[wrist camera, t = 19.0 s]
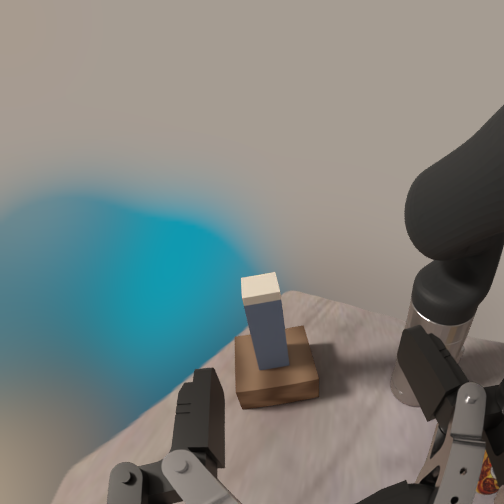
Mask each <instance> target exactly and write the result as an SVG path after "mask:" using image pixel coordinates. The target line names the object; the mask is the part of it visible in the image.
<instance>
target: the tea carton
mask: <svg viewBox="0 0 504 504" xmlns="http://www.w3.org/2000/svg"><path fill="white" fill-rule="evenodd" d="M241 284H242V285H241V286H242V299H243V304H244V308H245V312H246V316H247V321H248V325H249V330H250V334H251V338H252V342H253V346H254V351H255V355H256V359H257V363H258V367H259V370H266V369H272V368H277V367H283V366H289V357H288V349H287V341H286V333H285V325H284V318H283V310H282V302H281V295H280V290H279V286H278V282H277V278H276V274H275V272H273V273H267V274H262V275H256V276H250V277H245V278H241Z"/></svg>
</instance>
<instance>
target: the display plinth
mask: <svg viewBox="0 0 504 504" xmlns="http://www.w3.org/2000/svg"><path fill="white" fill-rule="evenodd" d="M285 333H286V341H287V349H288V357H289V366H283V367H277V368H272V369H266V370H259V367H258V363H257V359H256V355H255V351H254V346H253V342H252V338H251V335H245V336H238V337H235V378H236V394H237V397H238V399H239V402H240V405H241V407H242V409H249V408H257V407H265V406H271V405H278V404H284V403H290V402H295V401H301V400H306V399H311V398H316V397H319V377H318V374H317V370H316V367H315V363H314V360H313V356H312V353H311V349H310V346H309V343H308V339H307V336H306V332H305V329H304V326H298V327H292V328H287V329H285Z"/></svg>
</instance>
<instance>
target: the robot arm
mask: <svg viewBox="0 0 504 504" xmlns="http://www.w3.org/2000/svg"><path fill="white" fill-rule="evenodd" d="M405 225H406V229H407V233H408V235H409V237H410V240H411V241H412V242H413V244H414V246H415V247H416V248H417V249H418V250H419V252H421V253H422V254H423V255H425V256H426V257H428V258H431V259H433V260H434V261H432V262H431V263H429V264H428V265H426V266H425V267H424V268H422V269H421V270H420V271H419V273H418V274H417V276H416V278H415V280H414V284H413V290H412V296H411V302H410V306H409V312H408V316H407V321H406V325H405V329H404V330H403V332H402V336H401V341H400V345H399V349H398V353H397V360H396V364H395V367H394V371H393V374H392V377H391V382H390V384H391V390H392V393H393V394H394V396H395V397H396V398H397V399H398V400H399V401H400V402H402V403H404V404H406V405H409V406H420V407H421V409H422V411H423V413H424V415H425V417H426V420H427V422H428V421H430V420H433V419H435V418H436V420H437V422H438V423H437V425H436V428H435V432H434V436H433V439H432V443H431V446H430V449H429V453H428V456H427V459H426V462H425V464H424V466H423V467H422V469H421V471H420V473H419V475H418V477H417V479H416V482H415V483H413V484H407V481H406V480H405V481H402V482H400V483H397V484H395V485H392V486H389V487H387V488H384V489H381V490H379V491H378V492H376V493H374V494H372V495H371V496H369V497H367V498H365V499H364V500H362V501H360V502H358V503H356V504H472V502H473V499H474V495H475V492H476V488H477V485H478V481H479V477H480V473H481V469H482V464H483V459H484V454H485V450H486V452H487V455H488V458H489V460H490V463H491V466H492V468H493V471H494V474H495V477H496V480H497V483H498V486H499V490H498V492H497V495H496V497H495V499H494V504H504V379H503V380H502V382H501V383H500V385H495V386H490V387H482V386H481V385H479V384H477V383H474V382H469V380H468V379H467V378H466V376H465V375H464V373H463V371H462V370H461V368H460V367H459V365H458V363H459V361H460V359H461V356H462V354H463V352H464V346H463V344H464V342H465V340H466V337H467V335H468V332H469V329H470V327H471V324H472V321H473V319H474V316H475V313H476V310H477V308H478V305H479V304H480V303H481V302H482V301H483V299H484V298H485V297H486V295H487V293H488V292H489V290H490V287H491V285H492V282H493V279H494V276H495V273H496V270H497V267H498V264H499V260H500V256H501V253H502V250H503V246H504V105H503V106H502V107H501V108H500V109H499V110H498V111H497V112H496V113H495V114H494V115H493V116H492V117H491V118H490V119H489V120H488V121H487V122H486V123H485V124H484V125H483V126H482V127H481V129H480V130H479V131H477V132H476V133H475V134H474V135H473V136H472V137H471V138H470V139H469V140H467V141H466V142H465V143H464V144H462V145H461V146H460V147H458V148H457V149H456V150H454V151H453V152H451V153H450V154H448V155H447V156H445V157H444V158H442V159H441V160H439V161H438V162H436V163H435V164H433V165H432V166H430V167H429V168H428V169H426V170H424V171H423V172H422V173H421V174H419V176H418V177H417V178H416V179H415V181H414V182H413V184H412V185H411V187H410V190H409V192H408V195H407V200H406V203H405ZM217 468H225V399H224V392H223V388H222V386H221V384H220V381H219V379H218V376H217V374H216V372H215V369H214V368H203V369H195V371H194V377H193V382H188V383H184V385H183V386H182V388H181V390H180V391H179V393H178V400H177V407H176V415H175V423H174V431H173V439H172V447H171V450H170V452H169V453H168V454H167V455H166V456H165V458H164V459H162V460H160V461H158V462H155V463H151V464H147V465H142V466H136V465H135V464H133V463H130V462H122V463H119V464H117V465H116V466H115V467H114V468H113V469H112V471H111V473H110V479H109V488H108V497H107V504H172V503H177V502H181V501H184V502H185V503H186V504H242V503H241V502H240V501H239V500H238V499H237V498H236V497H235V496H234V495H233V494H232V493H231V492H230V491H229V490H228V489H227V488H226V487H225V486H224V485H223V484H222V483H221V482H220V481H219V480H218V479H217Z"/></svg>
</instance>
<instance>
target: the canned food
mask: <svg viewBox="0 0 504 504" xmlns="http://www.w3.org/2000/svg"><path fill="white" fill-rule="evenodd" d="M498 490H499V486H498V483H497V480H496V477H495V474H494V471H493V468H492V466H491V463H490V460H489V458H488V455H487V452H486V450H485V454H484V459H483V464H482V469H481V473H480V477H479V481H478V485H477V488H476V492H477V493H478V494H481V495H490V494H493V493H495V492H497V491H498Z"/></svg>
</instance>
